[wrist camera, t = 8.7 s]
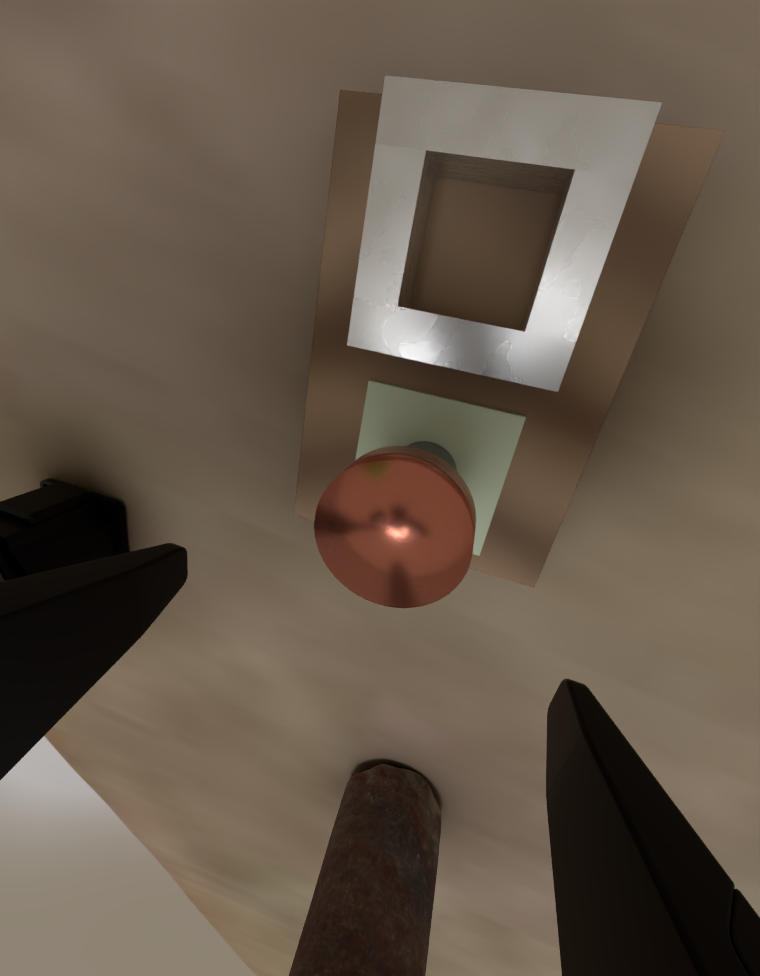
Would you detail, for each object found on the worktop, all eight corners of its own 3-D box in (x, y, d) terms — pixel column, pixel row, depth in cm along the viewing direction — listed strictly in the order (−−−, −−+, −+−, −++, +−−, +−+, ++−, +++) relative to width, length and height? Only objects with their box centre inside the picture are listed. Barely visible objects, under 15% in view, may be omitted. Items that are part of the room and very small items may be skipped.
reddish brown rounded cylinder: (464, 535, 20) (449, 627, 13) (363, 505, 20) (306, 580, 14) (496, 433, 18) (494, 488, 11) (382, 405, 18) (324, 442, 12)
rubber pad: (479, 552, 20) (479, 556, 20) (347, 513, 21) (345, 516, 21) (525, 416, 17) (525, 417, 17) (370, 380, 18) (368, 380, 18)
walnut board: (531, 571, 21) (534, 587, 20) (305, 503, 24) (293, 514, 22) (703, 149, 14) (725, 131, 13) (353, 110, 16) (339, 89, 15)
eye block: (549, 383, 17) (557, 392, 14) (365, 343, 18) (346, 345, 16) (634, 141, 13) (662, 102, 11) (402, 114, 15) (385, 75, 12)
